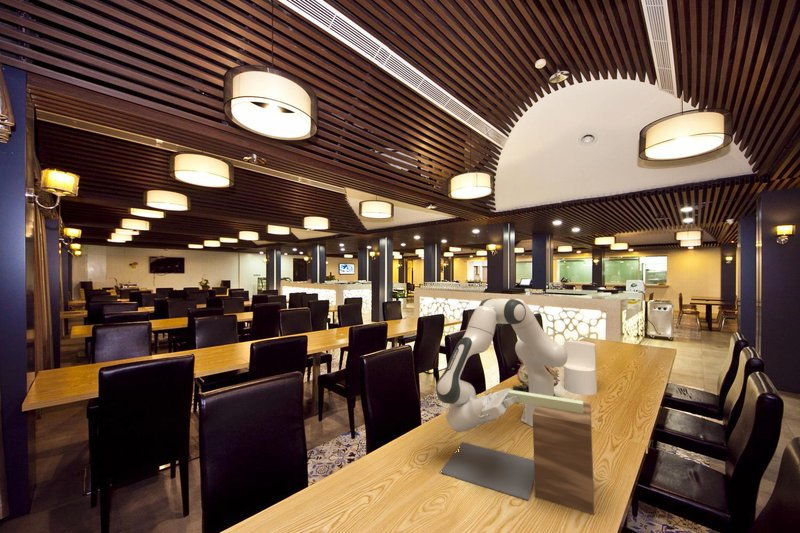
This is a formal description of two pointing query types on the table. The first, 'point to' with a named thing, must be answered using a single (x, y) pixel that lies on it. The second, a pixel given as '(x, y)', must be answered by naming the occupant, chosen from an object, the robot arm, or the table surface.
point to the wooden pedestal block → (564, 457)
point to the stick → (548, 401)
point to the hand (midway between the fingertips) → (519, 395)
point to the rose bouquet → (523, 377)
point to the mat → (492, 470)
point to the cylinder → (580, 368)
